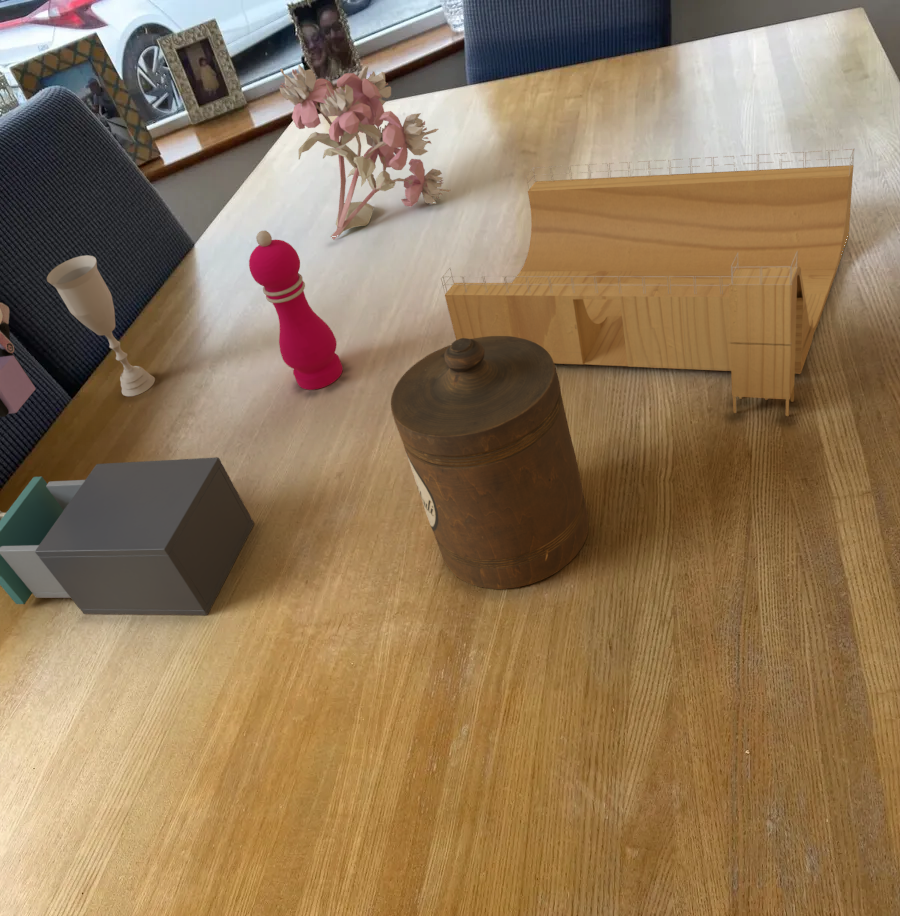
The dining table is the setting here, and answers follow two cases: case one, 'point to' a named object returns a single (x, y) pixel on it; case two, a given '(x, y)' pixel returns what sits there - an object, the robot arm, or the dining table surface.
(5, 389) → the pink cube
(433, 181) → the flower
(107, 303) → the chalice
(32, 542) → the drawer
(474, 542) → the wooden container
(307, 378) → the pepper mill
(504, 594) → the dining table surface
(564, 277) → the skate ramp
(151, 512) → the cabinet
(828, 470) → the dining table surface
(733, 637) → the dining table surface
